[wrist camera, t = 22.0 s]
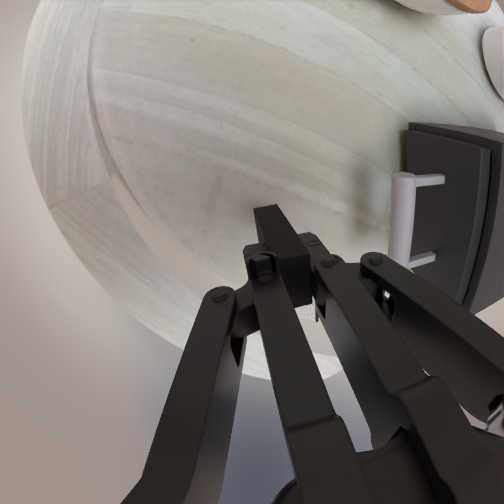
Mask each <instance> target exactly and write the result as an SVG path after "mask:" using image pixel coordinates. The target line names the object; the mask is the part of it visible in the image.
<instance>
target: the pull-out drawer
mask: <svg viewBox="0 0 504 504" xmlns="http://www.w3.org/2000/svg"><path fill="white" fill-rule="evenodd" d="M405 138H406V172H394V173H392V198H391V222H390V237H389V249H388V257H389V258H391V259H392V260H394V261H395V262H397V263H399V264H400V265H402V266H403V267H405V268H406V269H411V270H412V271H413V272H414V273H415V274H416V275H417V276H419V277H420V278H422V279H423V280H425V281H426V282H428V283H429V284H431V285H432V286H434V287H435V288H437V289H438V290H440V291H441V292H443V293H444V294H446V295H447V296H448V297H450V298H451V299H453V300H454V301H456V302H457V303H458V304H460V305H462V302H463V299H464V296H465V293H466V290H467V287H468V286H469V285H470V282H471V278H472V275H473V272H474V268H475V264H476V260H477V257H478V252H479V248H480V244H479V242H480V237H481V232H482V227H483V222H484V216H485V209H486V202H487V194H488V185H489V183H490V179H491V165H492V154H491V149H489V148H486V147H483V146H479V145H476V144H472V143H469V142H465V141H461V140H457V139H453V138H449V137H445V136H441V135H436V134H431V133H426V132H421V131H416V130H405Z"/></svg>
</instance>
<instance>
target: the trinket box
mask: <svg viewBox="0 0 504 504" xmlns="http://www.w3.org/2000/svg"><path fill="white" fill-rule="evenodd" d="M394 1H397V2H399V3H400V4H402V5H404V6H406V7H409V8H411V9H414V10H417V11H420V12H423V13H428V14H434V15H459V14H467V13H471V14H472V13H484V12H486V11H488V10H489V8H490V6H491V1H492V0H394Z"/></svg>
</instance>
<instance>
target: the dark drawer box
mask: <svg viewBox="0 0 504 504" xmlns="http://www.w3.org/2000/svg"><path fill="white" fill-rule="evenodd" d="M409 130H416V131H421V132H426V133H431V134H436V135H441V136H445V137H449V138H453V139H457V140H461V141H465V142H469V143H472V144H476V145H479V146H483V147H486V148H489V149H491V154H492V165H491V179H490V189H489V198H488V205H487V212H486V218H485V224H484V229H483V234H482V239H481V244H480V248H479V252H478V257H477V260H476V264H475V268H474V272H473V275H472V278H471V282H470V285H469V286H468V287H467V290H466V293H465V296H464V299H463V302H462V305H461V306H463V307H464V308H465V309H467V310H468V311H469V312H471V313H472V314H474V315H475V314H476V313H478V312H480V311H482V310H483V309H485V308H487V307H488V306H490V305H492V304H493V303H495V302H497V301H498V300H500V299H501V298H503V297H504V133H501V132H497V131H492V130H486V129H479V128H472V127H464V126H455V125H445V124H432V123H415V122H409Z"/></svg>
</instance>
